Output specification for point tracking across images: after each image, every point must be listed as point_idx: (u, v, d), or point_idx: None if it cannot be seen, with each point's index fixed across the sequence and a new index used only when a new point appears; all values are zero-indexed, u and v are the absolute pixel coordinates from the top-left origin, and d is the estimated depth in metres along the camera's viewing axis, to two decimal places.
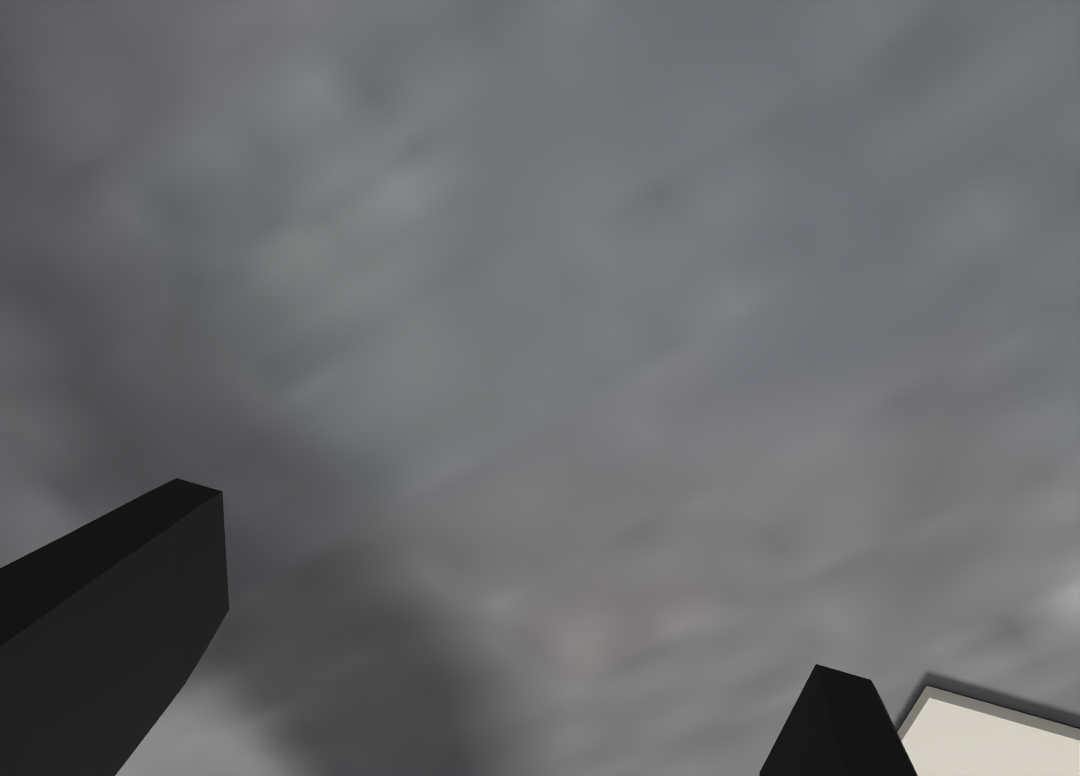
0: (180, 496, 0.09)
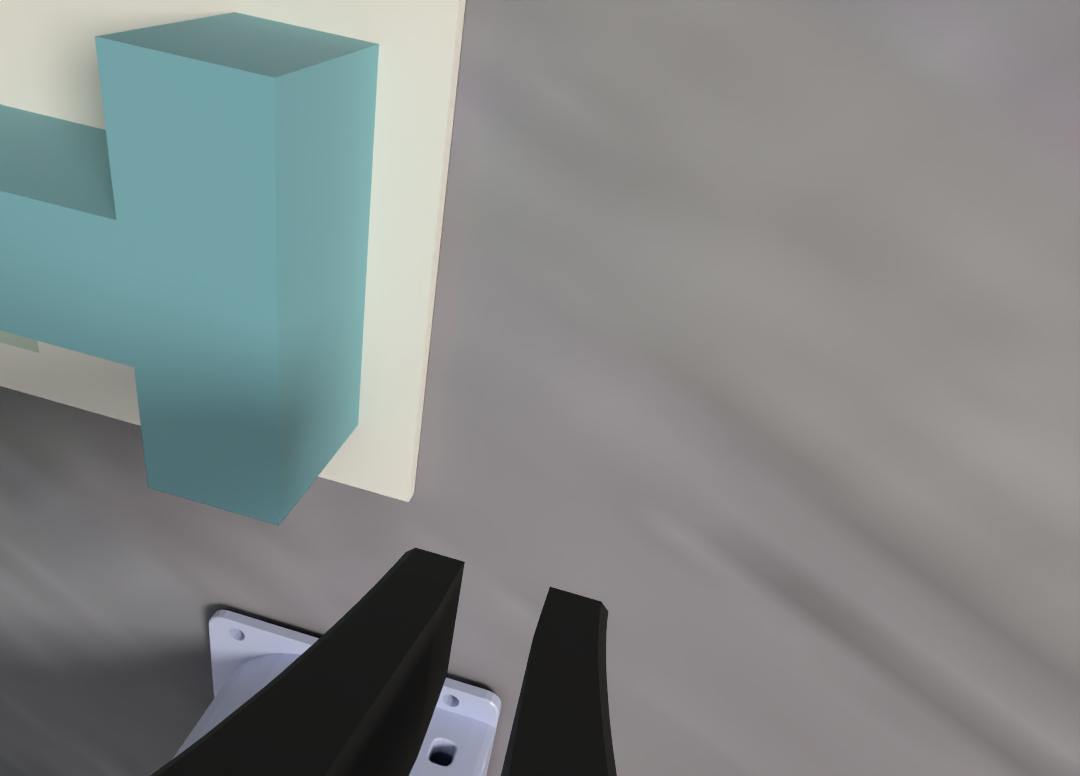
0: (430, 570, 0.09)
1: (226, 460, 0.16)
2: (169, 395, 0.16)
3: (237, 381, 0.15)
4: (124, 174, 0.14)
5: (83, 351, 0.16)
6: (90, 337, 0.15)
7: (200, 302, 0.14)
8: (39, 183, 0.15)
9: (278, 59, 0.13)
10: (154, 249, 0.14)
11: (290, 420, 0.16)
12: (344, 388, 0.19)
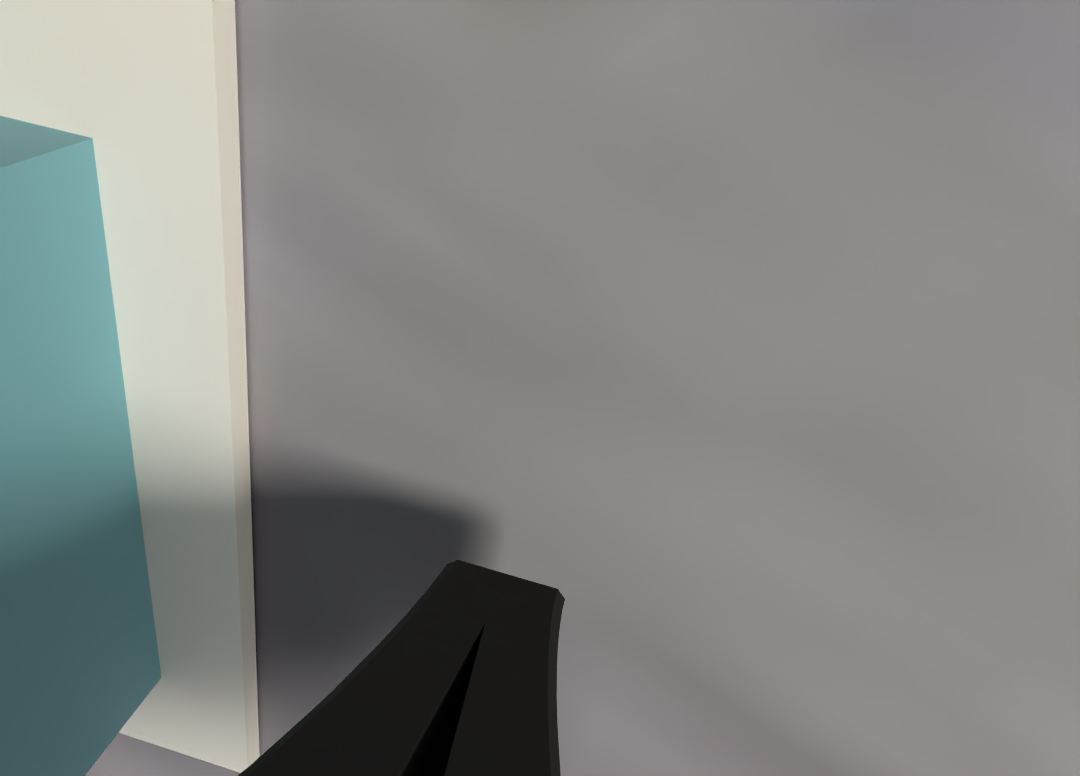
0: (474, 584, 0.09)
1: None
2: None
3: None
4: None
5: None
6: None
7: None
8: None
9: None
10: None
11: None
12: (112, 656, 0.12)
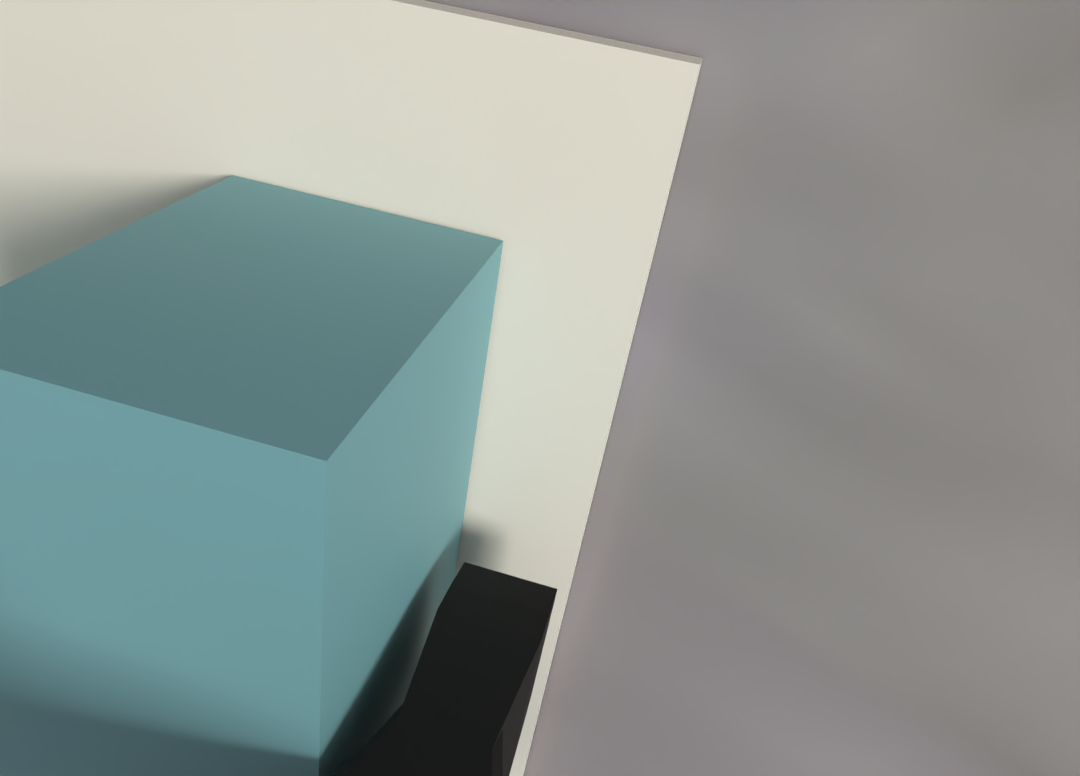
0: (527, 598, 0.09)
1: None
2: None
3: None
4: None
5: None
6: None
7: None
8: None
9: (326, 356, 0.06)
10: (65, 703, 0.07)
11: None
12: None
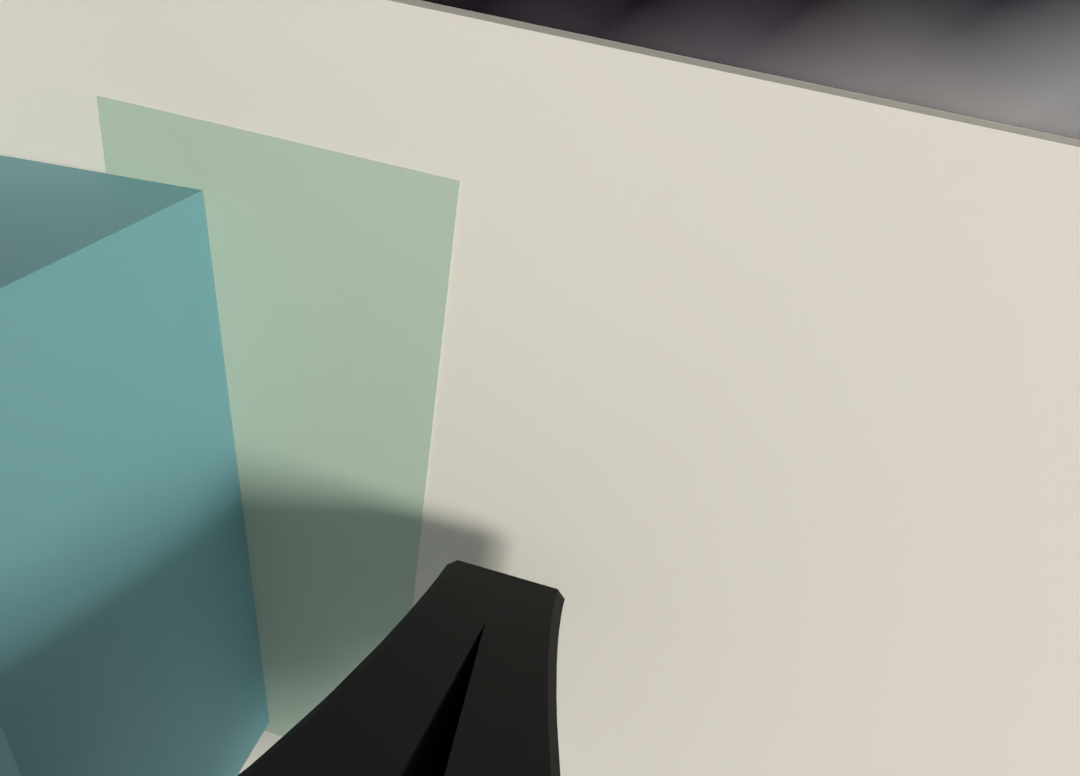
0: (474, 583, 0.09)
1: None
2: None
3: None
4: None
5: None
6: None
7: None
8: None
9: None
10: None
11: None
12: (228, 705, 0.12)
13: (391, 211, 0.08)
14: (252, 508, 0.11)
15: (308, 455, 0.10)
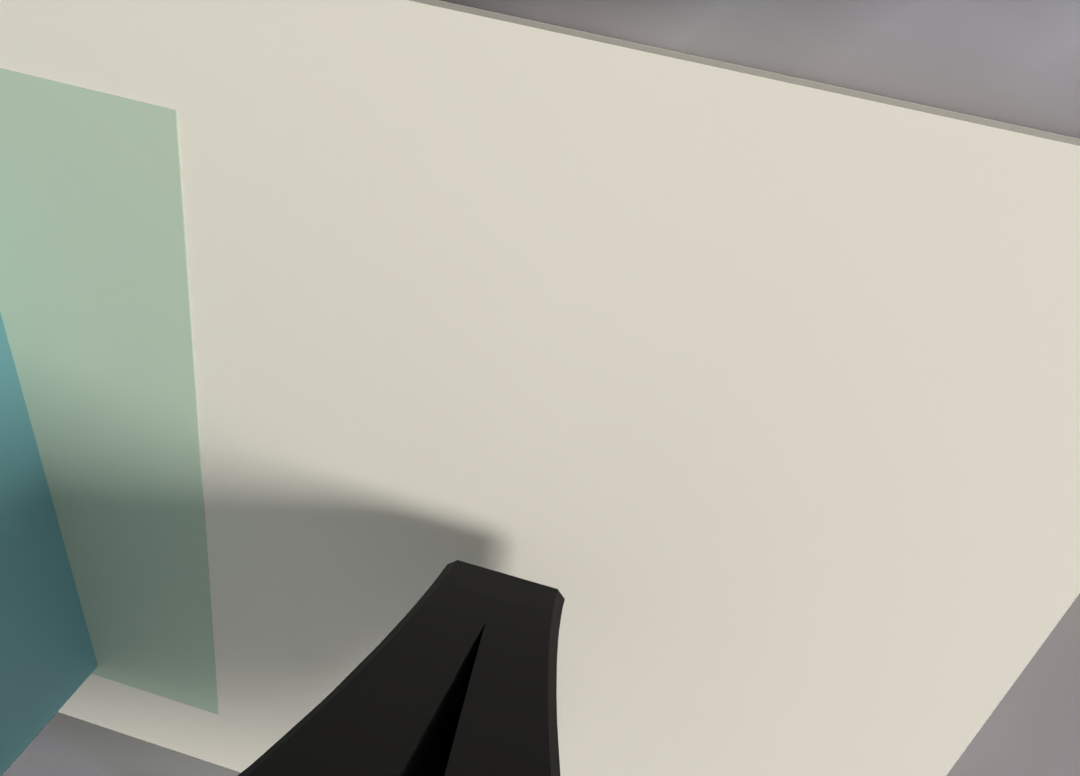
0: (474, 583, 0.09)
1: None
2: None
3: None
4: None
5: None
6: None
7: None
8: None
9: None
10: None
11: None
12: (34, 641, 0.12)
13: (119, 141, 0.09)
14: (46, 445, 0.11)
15: (87, 391, 0.11)
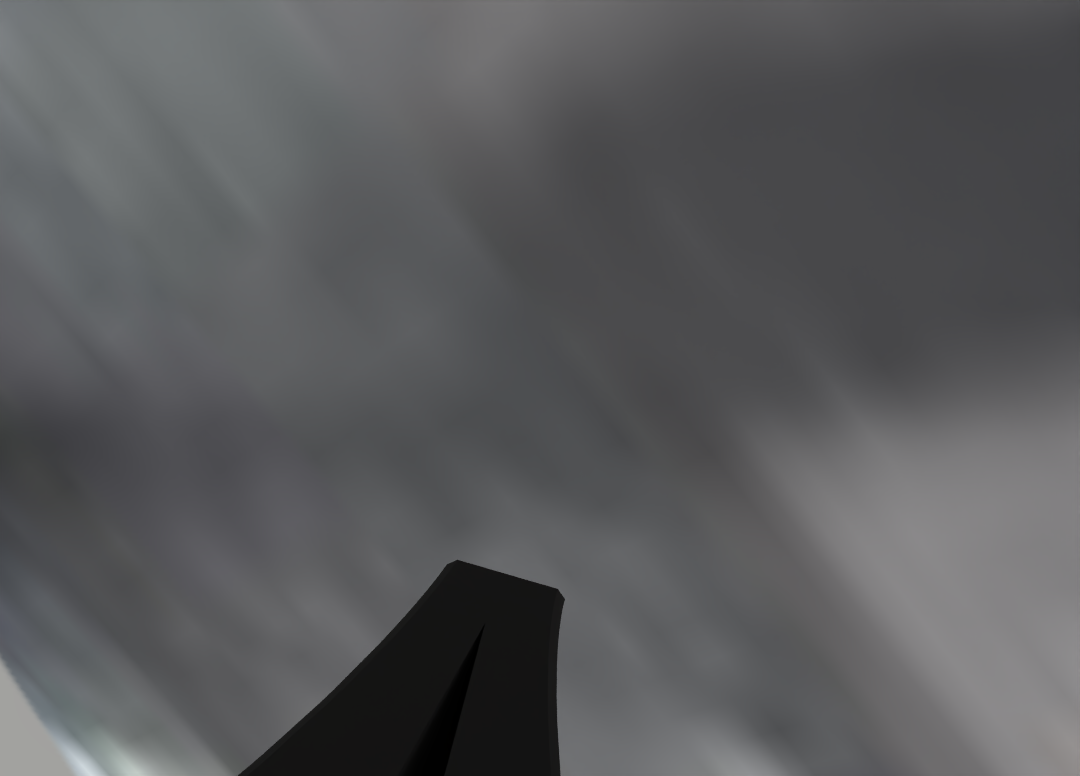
0: (474, 584, 0.09)
1: None
2: None
3: None
4: None
5: None
6: None
7: None
8: None
9: None
10: None
11: None
12: None
13: None
14: None
15: None
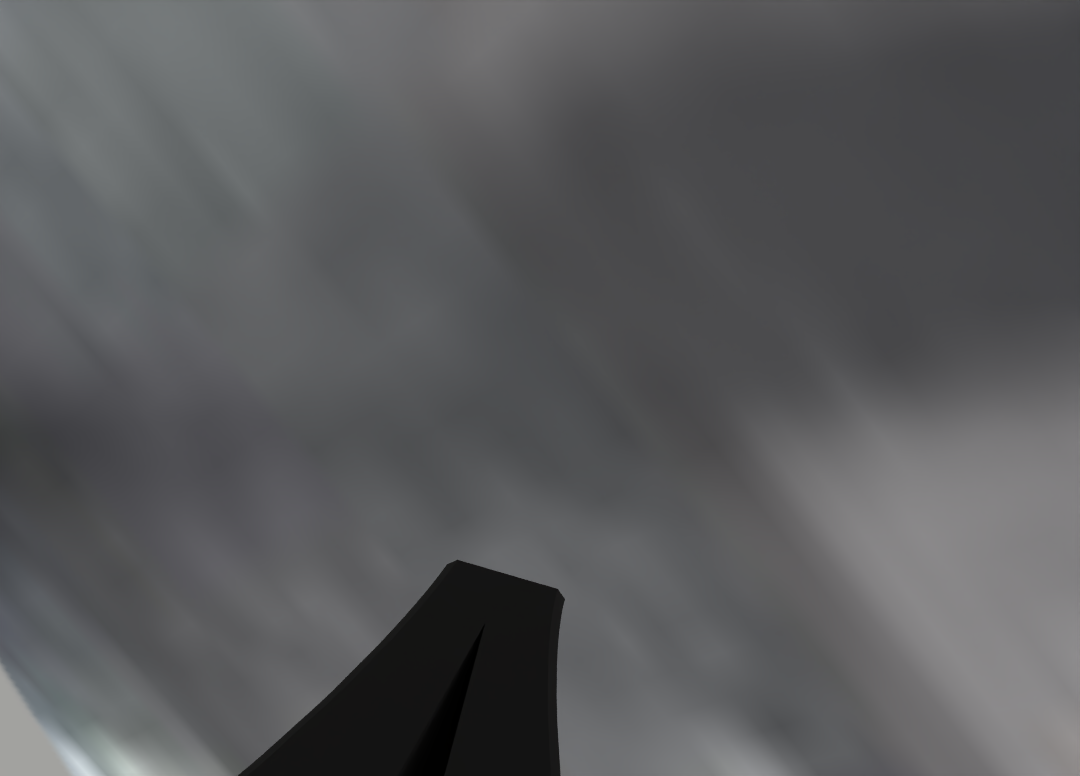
0: (474, 583, 0.09)
1: None
2: None
3: None
4: None
5: None
6: None
7: None
8: None
9: None
10: None
11: None
12: None
13: None
14: None
15: None
